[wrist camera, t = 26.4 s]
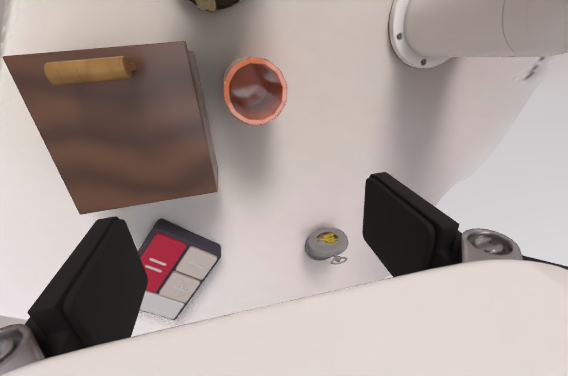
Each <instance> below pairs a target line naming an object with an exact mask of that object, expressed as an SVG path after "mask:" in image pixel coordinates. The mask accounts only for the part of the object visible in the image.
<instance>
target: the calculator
mask: <svg viewBox="0 0 568 376" xmlns="http://www.w3.org/2000/svg"><path fill="white" fill-rule="evenodd" d="M138 254H139V256H140V259H141V261H142V264H143V266H144V268H145V271H146V273H147V277H148V285H147V288H146V291H145V294H144V297H143V301H142V304H141V307H140V310H141V311H145V312H148V313H151V314H155V315H158V316H162V317H165V318H169V319H172V320H175V319H176V318H177V317H178V316H179V314H180V313H181V312H182V310H183V309H184V307H185V306H186V305H187V303H188V302H189V300H190V299H191V298H192V296H193V295H194V293H195V292H196V291H197V289H198V288H199V287H200V285H201V284H202V282H203V281H204V280H205V278H206V277H207V275H208V274H209V273H210V271H211V270H212V268H213V267H214V266H215V264H216V263H217V261H218V260H219V259H220V257H221V248H220V245H219V244H217V243H214V242H212V241H210V240H208V239H205V238H203V237H201V236H199V235H196V234H194V233H192V232H190V231H187V230H185V229H183V228H181V227H178V226H176V225H174V224H171V223H169V222H167V221H165V220H162V219H159V220H158V221H157V223H156V224H155V226H154V227H153V229H152V230H151V232H150V233H149V235H148V237H147V238H146V240H145V241H144V243H143V244H142V246H141V248H140V249H139V251H138Z"/></svg>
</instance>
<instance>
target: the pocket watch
mask: <svg viewBox="0 0 568 376" xmlns="http://www.w3.org/2000/svg"><path fill="white" fill-rule="evenodd" d="M347 246H348V239H347V236H346V235H345V233H344V232H342V231H341V230H339V229H335V228H323V229H319V230H317V231H315V232H313V233H312V234H311V235H310V237H309V238H308V240H307V242H306V245H305V249H306V253H307V255H308V256H309V257H310V258H311V259H314V260H326V259H328V258H330V257H332V256H334V259H333V260H332V261H331V264H341V263H344V262H345V261H347V258H345V257H340V256H337V255H339V254H341V253H342V252H344V251H345V250H346V248H347ZM341 259H345V260H344V261H342V262H340V260H341ZM333 261H337V262H339V263H333Z"/></svg>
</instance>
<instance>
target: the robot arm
mask: <svg viewBox="0 0 568 376" xmlns="http://www.w3.org/2000/svg"><path fill="white" fill-rule="evenodd" d="M389 33H390V39H391V43H392V46H393V49H394V51H395V52H396V54H397V56H398V57H399V58H400V59H401V60H402V61H403V62H404V63H406V64H407V65H409V66H412V67H415V68H432V67H435V66H439V65H440V64H442V63H444V62H446V61H447V60H449V59H450V58H451V57H545V56H554V55H559V54H563V53H567V52H568V0H394V3H393V6H392V10H391V14H390V22H389ZM458 227H459V224H458V223H457V222H456V221H454V220H453V219H451V218H450V217H448V216H447V215H445V214H444V213H443V212H441V211H440V210H439V209H437V208H436V207H434V206H433V205H432V204H430V203H429V202H427V201H426V200H424V199H423V198H422V197H420V196H419V195H417V194H416V193H415V192H413V191H412V190H410V189H409V188H408V187H406V186H405V185H403V184H402V183H400V182H399V181H398V180H396V179H395V178H393V177H392V176H391V175H389V174H388V173H386V172H382V173H376V174H371V175H370V177H369V178H367V180H366V185H365V202H364V218H363V237H364V240H365V241H366V243H367V244H368V245H369V246H370V248H371V249H372V250H373V252H374V253H375V254H376V255H377V257H378V258H379V259H380V261H381V262H382V263H383V264H384V266H385V267H386V268H387V270H388V271H389V272H390V273H391V275H392V276H393V278H388V279H383V280H379V281H374V282H370V283H365V284H361V285H356V286H352V287H348V288H343V289H339V290H334V291H330V292H326V293H321V294H317V295H312V296H308V297H304V298H299V299H295V300H290V301H286V302H282V303H277V304H273V305H268V306H264V307H260V308H255V309H251V310H246V311H242V312H238V313H233V314H229V315H224V316H220V317H216V318H211V319H207V320H202V321H198V322H194V323H189V324H185V325H181V326H176V327H172V328H168V329H164V330H159V331H155V332H151V333H146V334H142V335H138V336H134V337H131V335H132V332H133V329H134V325H135V322H136V319H137V316H138V313H139V310H140V307H141V304H142V301H143V297H144V294H145V291H146V288H147V285H148V277H147V273H146V271H145V268H144V266H143V264H142V261H141V259H140V256H139V254H138V251H137V249H136V246H135V244H134V242H133V239H132V237H131V234H130V232H129V229H128V227H127V224H126V222H125V221H124V220H123V219H122V220H120V219H119V218H118V217H110V218H104V219H98V220H97V221H96V222H95V223H94V225H93V226H92V227H91V229H90V230H89V231H88V233H87V234H86V235H85V237H84V238H83V239H82V241H81V242H80V243H79V245H78V246H77V247H76V249H75V250H74V251H73V252H72V254H71V255H70V256H69V258H68V259H67V260H66V262H65V263H64V264H63V266H62V267H61V268H60V270H59V271H58V272H57V274H56V275H55V276H54V278H53V279H52V280H51V282H50V283H49V284H48V286H47V287H46V288H45V290H44V291H43V292H42V294H41V295H40V296H39V298H38V299H37V300H36V301H35V303H34V304H33V305H32V307H31V308H30V309H29V311H28V312H27V313H28V314H29V315H30V318H29V319H28V321H27V322H26V323H25V325H24V324H15V325H9V326H6V327H3V328H0V376H568V267H567V266H563V265H559V264H555V263H550V262H546V261H543V260H538V259H534V258H530V257H526V256H522V255H521V251H520V249H519V247H518V245H517V244H516V243H515V242H514V241H513V240H512V239H510V238H509V237H507V236H505V235H503V234H500V233H498V232H495V231H491V230H487V229H470V230H466V231H465V232H463V233H461V232H459V231H458Z"/></svg>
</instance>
